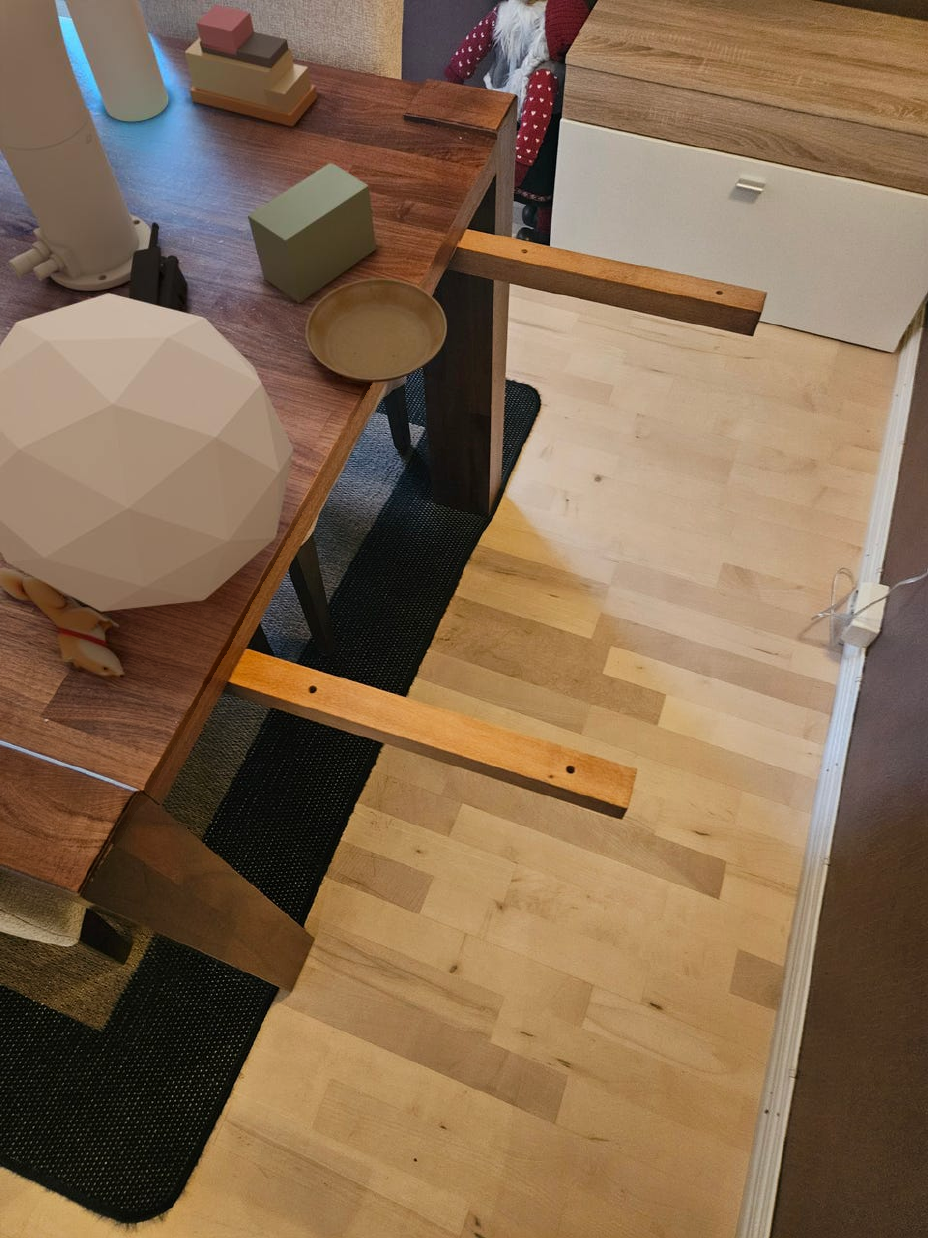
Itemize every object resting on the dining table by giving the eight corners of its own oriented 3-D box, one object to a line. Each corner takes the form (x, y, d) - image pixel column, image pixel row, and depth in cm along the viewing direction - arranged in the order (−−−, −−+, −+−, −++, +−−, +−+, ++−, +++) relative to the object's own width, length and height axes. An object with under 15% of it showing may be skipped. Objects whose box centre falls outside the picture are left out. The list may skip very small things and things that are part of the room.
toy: (157, 648, 72) (123, 698, 72) (23, 559, 78) (-10, 604, 77) (136, 638, 69) (100, 689, 68) (-3, 546, 74) (-37, 593, 74)
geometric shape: (-103, 339, 67) (-139, 595, 55) (136, 163, 60) (156, 410, 48) (124, 486, 87) (136, 700, 74) (324, 366, 80) (373, 579, 68)
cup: (175, 86, 113) (133, -54, 99) (159, 123, 109) (113, -18, 95) (116, 83, 113) (66, -57, 99) (97, 119, 110) (42, -21, 96)
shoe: (317, 97, 112) (309, 48, 106) (292, 126, 109) (283, 78, 103) (219, 73, 114) (207, 24, 109) (192, 101, 111) (178, 52, 106)
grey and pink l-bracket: (289, 49, 106) (283, 19, 103) (271, 68, 104) (265, 38, 101) (220, 32, 108) (213, 3, 105) (201, 51, 106) (193, 22, 103)
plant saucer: (472, 327, 91) (472, 307, 89) (400, 417, 85) (398, 398, 83) (359, 280, 95) (356, 261, 93) (282, 364, 89) (277, 345, 87)
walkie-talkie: (189, 344, 87) (202, 213, 96) (128, 319, 83) (147, 186, 92) (169, 379, 91) (183, 251, 100) (110, 358, 88) (129, 227, 97)
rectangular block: (299, 303, 93) (285, 240, 86) (263, 278, 95) (247, 214, 88) (376, 249, 97) (369, 185, 90) (340, 226, 99) (330, 161, 92)
